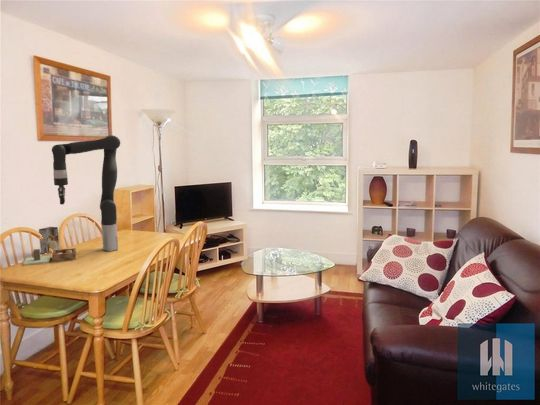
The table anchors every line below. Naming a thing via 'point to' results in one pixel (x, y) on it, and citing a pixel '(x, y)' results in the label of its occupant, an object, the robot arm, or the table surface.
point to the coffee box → (49, 239)
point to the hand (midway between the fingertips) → (62, 203)
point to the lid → (37, 258)
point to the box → (64, 255)
